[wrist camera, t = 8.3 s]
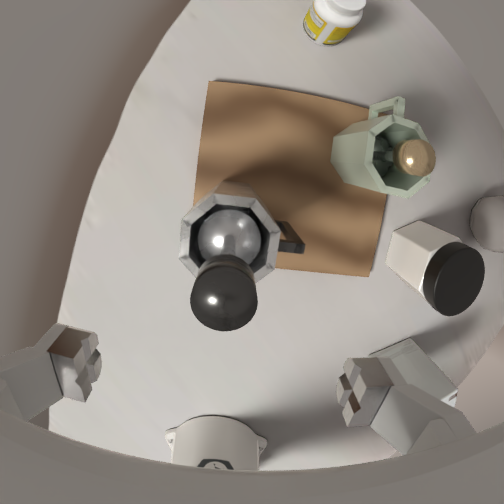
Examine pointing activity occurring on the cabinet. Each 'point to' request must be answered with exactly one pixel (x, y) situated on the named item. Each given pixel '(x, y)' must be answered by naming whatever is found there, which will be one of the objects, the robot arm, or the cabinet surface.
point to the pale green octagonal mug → (362, 146)
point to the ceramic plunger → (404, 156)
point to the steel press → (251, 204)
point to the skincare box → (420, 370)
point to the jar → (436, 266)
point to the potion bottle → (489, 223)
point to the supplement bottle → (332, 20)
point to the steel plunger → (226, 270)
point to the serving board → (292, 171)
